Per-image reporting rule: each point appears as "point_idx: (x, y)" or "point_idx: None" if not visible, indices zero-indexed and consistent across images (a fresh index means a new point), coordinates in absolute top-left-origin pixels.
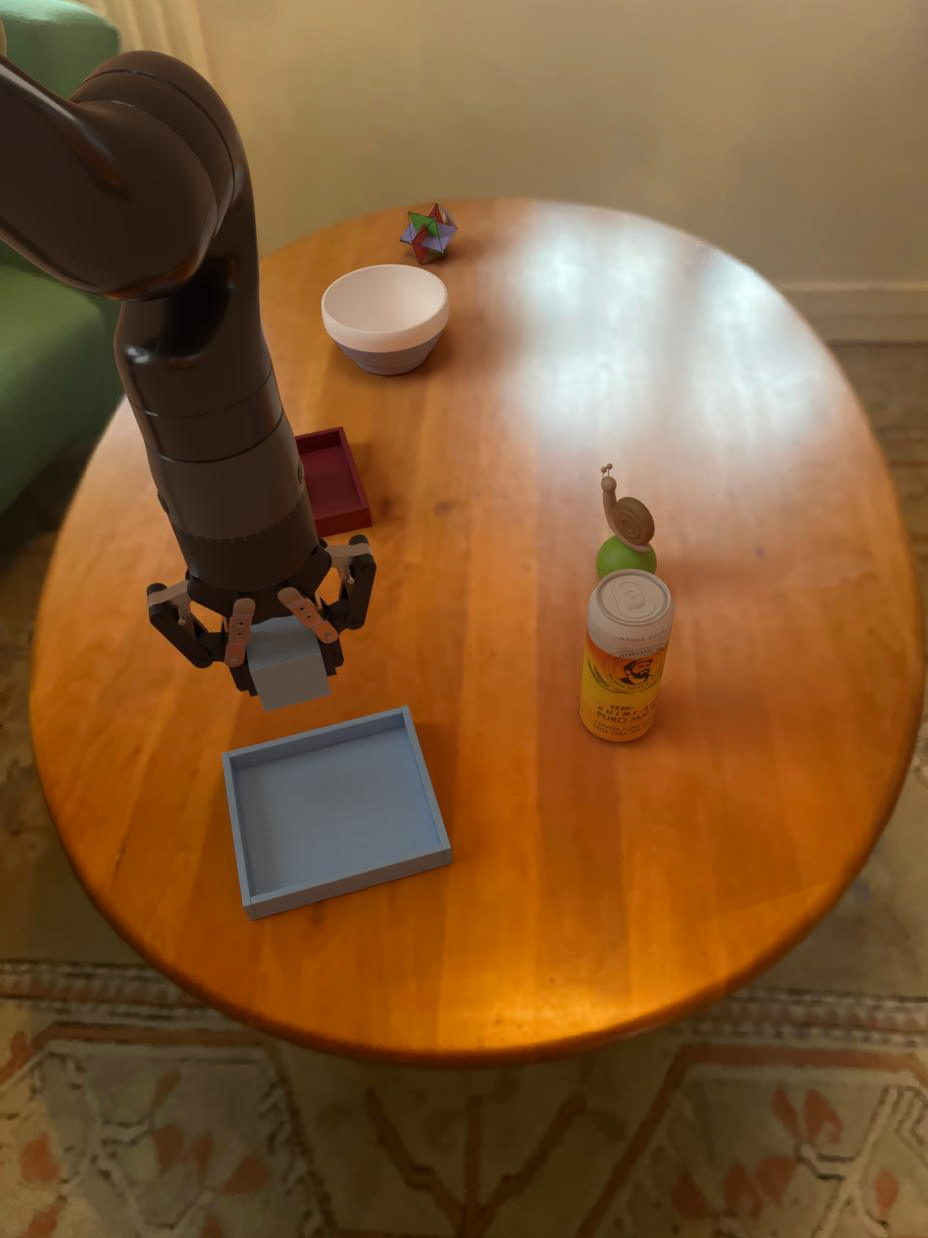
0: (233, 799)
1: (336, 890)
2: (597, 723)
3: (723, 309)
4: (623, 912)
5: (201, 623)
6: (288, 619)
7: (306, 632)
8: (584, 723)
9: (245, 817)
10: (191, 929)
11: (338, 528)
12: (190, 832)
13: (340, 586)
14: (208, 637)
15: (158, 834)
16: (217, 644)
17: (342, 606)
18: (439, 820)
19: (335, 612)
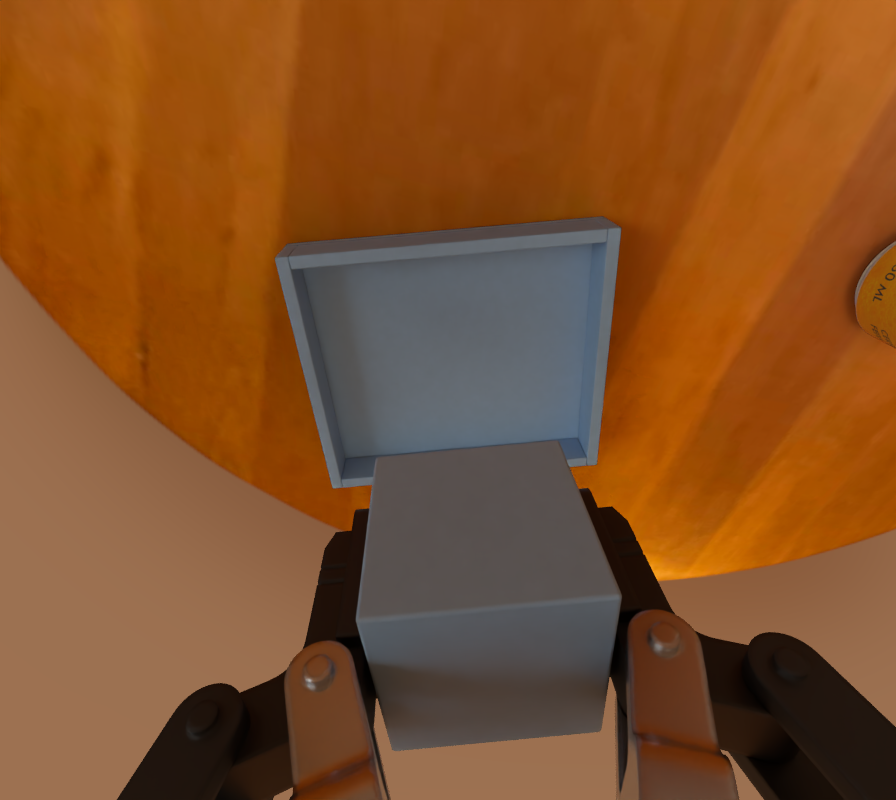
0: (306, 348)
1: None
2: (883, 334)
3: None
4: (729, 509)
5: (208, 777)
6: (534, 644)
7: (582, 687)
8: (858, 299)
9: (323, 342)
10: (267, 458)
11: None
12: (241, 340)
13: (815, 743)
14: (249, 778)
15: (192, 334)
16: (287, 775)
17: (757, 732)
18: (596, 431)
19: (718, 732)
